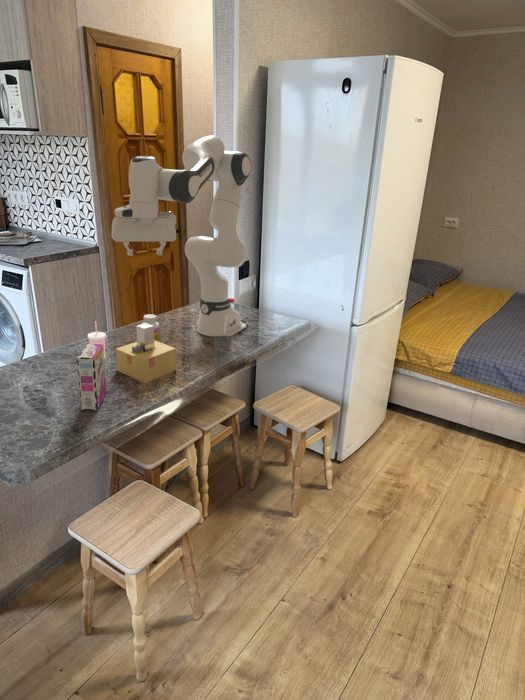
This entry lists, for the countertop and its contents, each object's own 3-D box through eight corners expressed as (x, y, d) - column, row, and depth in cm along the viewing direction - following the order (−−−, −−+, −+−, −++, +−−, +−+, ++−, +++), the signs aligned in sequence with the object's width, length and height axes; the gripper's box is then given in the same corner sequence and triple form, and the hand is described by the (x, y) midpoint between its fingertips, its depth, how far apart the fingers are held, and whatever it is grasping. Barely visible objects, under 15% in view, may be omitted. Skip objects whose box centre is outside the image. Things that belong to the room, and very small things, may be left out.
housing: (149, 358, 175) (148, 334, 171) (176, 369, 167) (176, 344, 163) (116, 370, 164) (114, 344, 160) (144, 383, 156) (143, 356, 153)
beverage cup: (96, 353, 176) (93, 317, 171) (111, 356, 175) (108, 319, 169) (85, 359, 171) (82, 322, 165) (100, 362, 169) (97, 325, 164)
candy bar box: (98, 411, 139) (94, 358, 132) (80, 410, 138) (75, 358, 132) (107, 393, 149) (103, 343, 143) (91, 392, 149) (86, 343, 142)
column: (147, 366, 168) (145, 322, 162) (155, 369, 166) (154, 325, 160) (138, 369, 165) (135, 325, 159) (146, 373, 163) (144, 328, 157)
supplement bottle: (155, 352, 180) (154, 319, 175) (139, 350, 181) (137, 317, 176) (162, 346, 186) (161, 314, 181) (146, 344, 187) (145, 312, 182)
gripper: (173, 211, 159) (173, 253, 164) (109, 209, 151) (111, 254, 155) (179, 213, 154) (178, 256, 159) (113, 211, 145) (115, 257, 150)
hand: (145, 255), depth 157 cm, fingers open, 8 cm apart
